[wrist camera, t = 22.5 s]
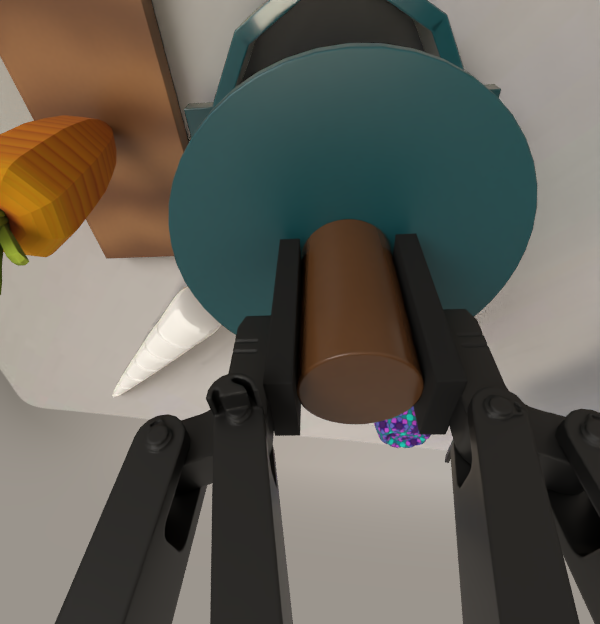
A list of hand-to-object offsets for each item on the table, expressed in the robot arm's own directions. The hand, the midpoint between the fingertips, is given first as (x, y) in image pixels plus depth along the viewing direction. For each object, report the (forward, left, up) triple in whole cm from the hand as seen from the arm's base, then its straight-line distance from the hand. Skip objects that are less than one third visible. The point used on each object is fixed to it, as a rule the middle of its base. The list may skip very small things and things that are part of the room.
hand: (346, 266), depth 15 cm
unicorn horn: (-21, +19, -14) cm, 32 cm away
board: (+2, +14, -14) cm, 20 cm away
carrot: (+2, +14, -13) cm, 20 cm away
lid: (0, 0, -1) cm, 1 cm away
